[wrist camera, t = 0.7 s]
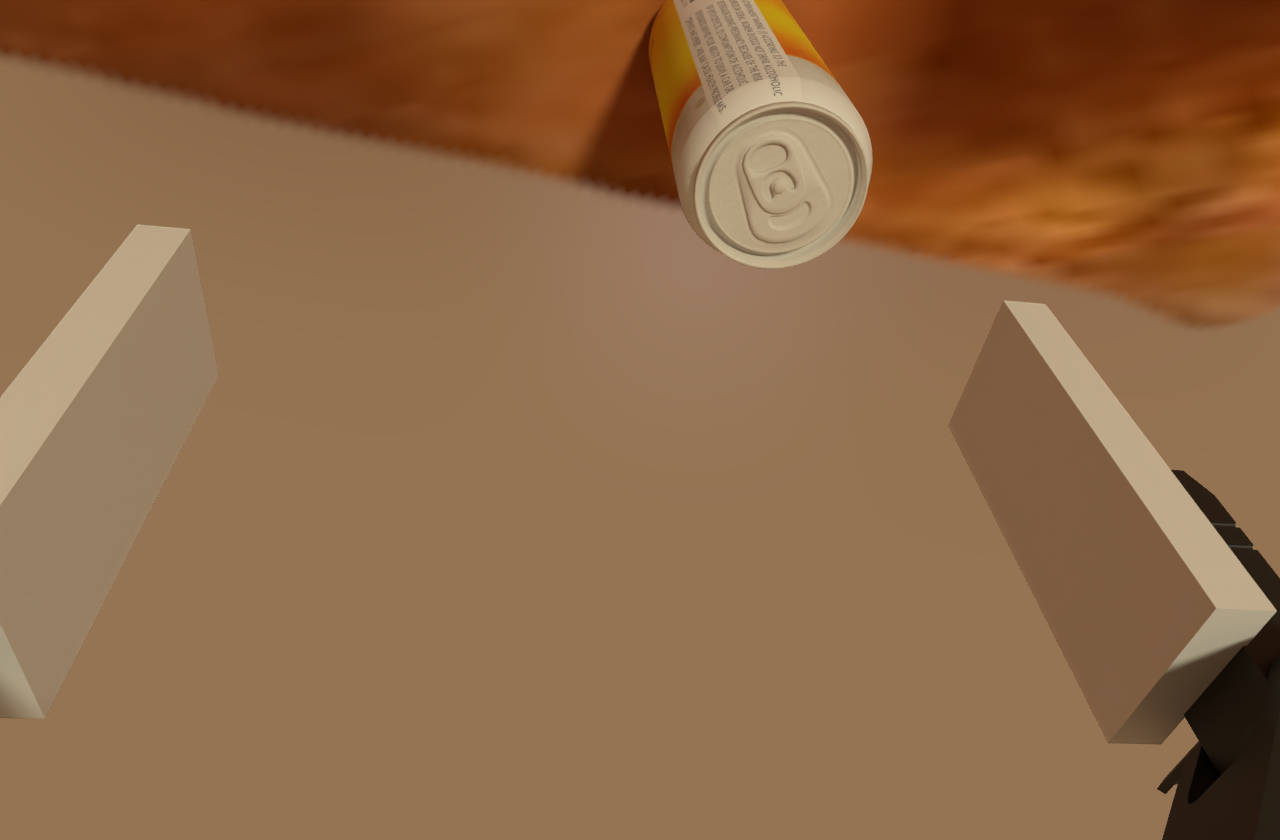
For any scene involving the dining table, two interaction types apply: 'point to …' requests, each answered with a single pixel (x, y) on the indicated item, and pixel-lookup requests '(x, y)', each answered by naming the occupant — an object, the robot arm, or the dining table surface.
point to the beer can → (757, 131)
